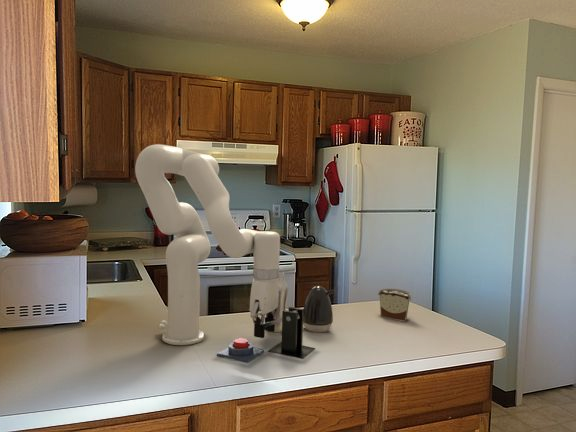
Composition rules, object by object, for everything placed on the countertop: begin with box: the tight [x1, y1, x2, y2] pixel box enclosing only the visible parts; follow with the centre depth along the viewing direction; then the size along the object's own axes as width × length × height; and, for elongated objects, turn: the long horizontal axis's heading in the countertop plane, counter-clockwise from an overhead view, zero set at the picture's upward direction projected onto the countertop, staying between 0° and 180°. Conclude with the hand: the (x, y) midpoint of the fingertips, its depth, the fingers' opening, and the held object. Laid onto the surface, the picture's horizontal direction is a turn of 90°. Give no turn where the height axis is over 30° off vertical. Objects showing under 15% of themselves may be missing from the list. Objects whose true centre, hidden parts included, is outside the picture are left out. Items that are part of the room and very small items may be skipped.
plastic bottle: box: [273, 270, 289, 333], centre depth 155 cm, size 6×7×20 cm
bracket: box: [267, 306, 316, 360], centre depth 137 cm, size 11×9×13 cm
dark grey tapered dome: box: [303, 285, 336, 333], centre depth 157 cm, size 10×10×15 cm
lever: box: [263, 310, 300, 327], centre depth 139 cm, size 12×6×2 cm, turn 64°
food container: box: [377, 288, 412, 323], centre depth 176 cm, size 12×6×10 cm, turn 58°
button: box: [233, 337, 249, 348], centre depth 133 cm, size 4×4×2 cm
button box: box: [216, 341, 265, 364], centre depth 133 cm, size 10×9×4 cm
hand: (264, 333), depth 141 cm, fingers closed on lever, 5 cm apart
